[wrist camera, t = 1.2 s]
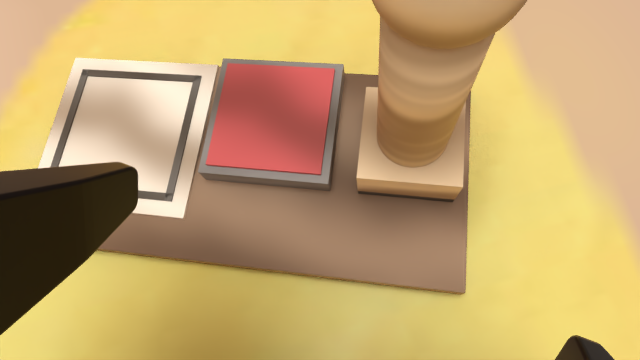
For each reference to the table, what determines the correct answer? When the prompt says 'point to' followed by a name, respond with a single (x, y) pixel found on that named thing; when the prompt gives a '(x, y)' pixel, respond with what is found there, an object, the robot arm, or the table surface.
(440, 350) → the table surface
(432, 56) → the stamp
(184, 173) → the board
